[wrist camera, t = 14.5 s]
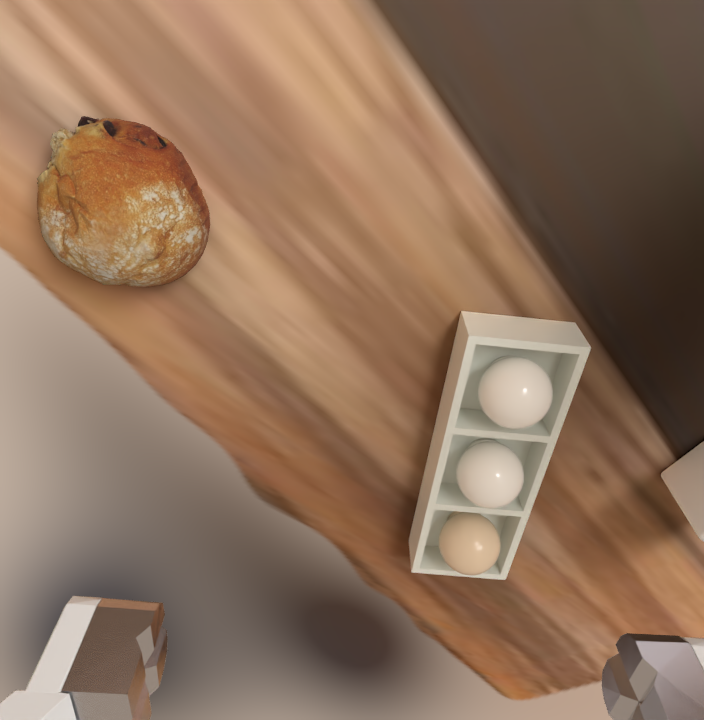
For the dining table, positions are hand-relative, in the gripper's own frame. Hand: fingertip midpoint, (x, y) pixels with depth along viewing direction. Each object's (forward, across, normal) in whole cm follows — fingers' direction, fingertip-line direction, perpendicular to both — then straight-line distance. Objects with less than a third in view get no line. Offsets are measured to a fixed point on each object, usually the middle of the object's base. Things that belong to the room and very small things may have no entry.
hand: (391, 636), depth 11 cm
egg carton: (+31, -11, +21) cm, 39 cm away
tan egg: (+30, -11, +28) cm, 43 cm away
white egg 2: (+30, -11, +21) cm, 39 cm away
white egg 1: (+30, -11, +13) cm, 35 cm away
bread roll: (+32, +15, +3) cm, 35 cm away
